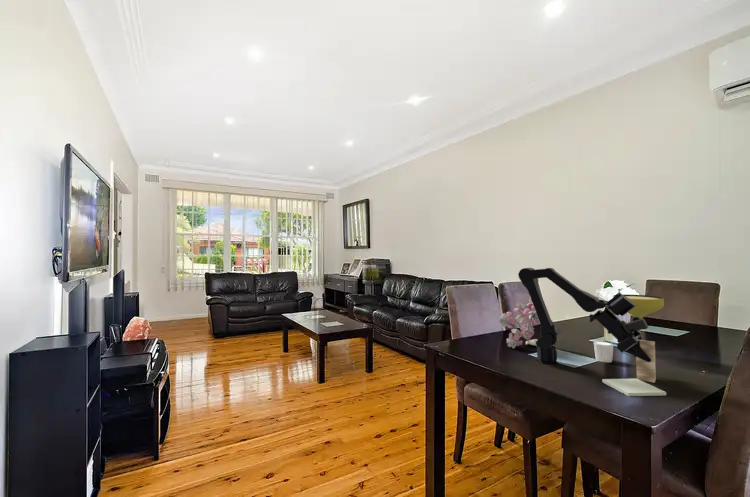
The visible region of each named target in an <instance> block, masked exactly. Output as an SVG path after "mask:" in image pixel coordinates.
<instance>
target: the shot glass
mask: <svg viewBox="0 0 750 497" xmlns="http://www.w3.org/2000/svg"><path fill="white" fill-rule="evenodd" d="M593 347H594V355H595V360H596V361H597V362H601V363H612V362H613V356H614V355H613V354H614V344H613V343H611V342H606V341H593Z"/></svg>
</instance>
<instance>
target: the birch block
mask: <svg viewBox="0 0 750 497" xmlns="http://www.w3.org/2000/svg"><path fill="white" fill-rule="evenodd" d="M638 341H639V340H638ZM640 347H641V348H642V349H643V350H644V352H645V353H646V354H647V355H648V356H649V358H650V359H651V361H650V362H647V361H645V360H643V359H640V358H638V357H636V356H635V358H636V359H635V361H636V362H635V363H636V366H635V368H636V379H639V380H641V381H643V382H646V383H647V382H649V383H654V384H655V383H656V379H657V378H656V376H657V375H656V370H657V369H656V341H653V340H651V341H650V340H644V339H642V340H640Z"/></svg>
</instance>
